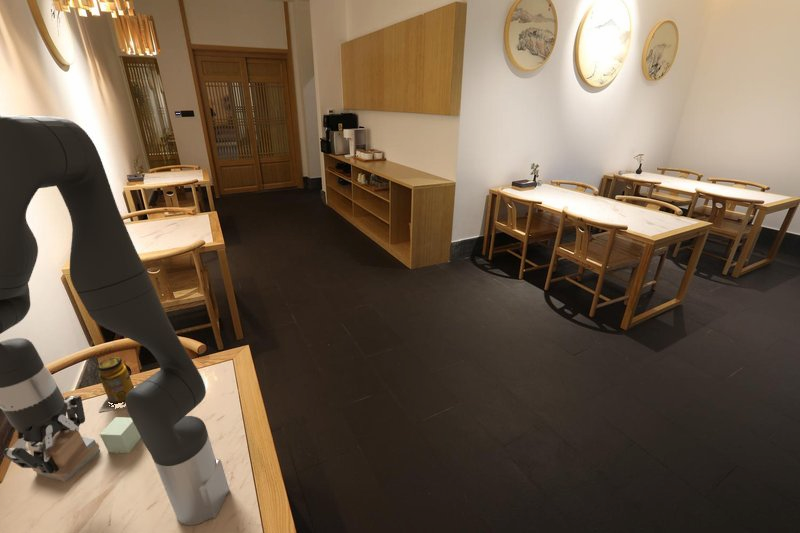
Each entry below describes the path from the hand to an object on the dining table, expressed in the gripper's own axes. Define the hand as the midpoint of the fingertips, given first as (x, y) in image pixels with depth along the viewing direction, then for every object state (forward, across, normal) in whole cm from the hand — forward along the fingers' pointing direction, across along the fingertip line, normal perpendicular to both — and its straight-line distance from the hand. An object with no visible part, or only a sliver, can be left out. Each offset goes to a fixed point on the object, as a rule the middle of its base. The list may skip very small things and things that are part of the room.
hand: (65, 458), depth 73 cm
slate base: (+11, +7, +10) cm, 16 cm away
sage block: (+11, +12, 0) cm, 17 cm away
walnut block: (+1, 0, 0) cm, 1 cm away
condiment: (+11, +27, +12) cm, 31 cm away
